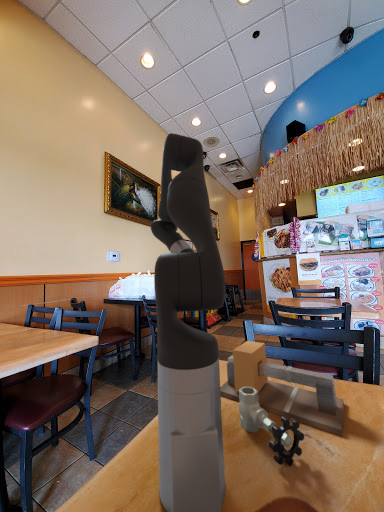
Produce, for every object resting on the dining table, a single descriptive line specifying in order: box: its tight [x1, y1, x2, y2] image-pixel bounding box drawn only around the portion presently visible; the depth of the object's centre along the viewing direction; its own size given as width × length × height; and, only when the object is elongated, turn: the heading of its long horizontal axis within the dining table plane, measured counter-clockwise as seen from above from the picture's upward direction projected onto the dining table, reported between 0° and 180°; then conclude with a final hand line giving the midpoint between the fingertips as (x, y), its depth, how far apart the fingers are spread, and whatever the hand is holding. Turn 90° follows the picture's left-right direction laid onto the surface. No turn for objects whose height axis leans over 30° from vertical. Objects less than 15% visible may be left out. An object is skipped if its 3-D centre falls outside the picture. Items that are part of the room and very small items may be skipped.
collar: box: [232, 340, 269, 392], centre depth 54 cm, size 5×10×10 cm, turn 143°
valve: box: [238, 386, 305, 467], centre depth 38 cm, size 7×7×12 cm
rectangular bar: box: [226, 355, 337, 416], centre depth 51 cm, size 24×4×7 cm, turn 53°
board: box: [220, 379, 345, 436], centre depth 50 cm, size 26×12×1 cm, turn 53°
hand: (208, 289), depth 67 cm, fingers open, 8 cm apart
